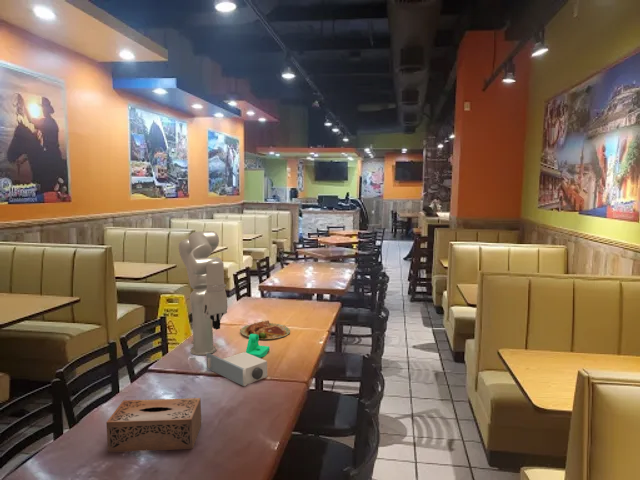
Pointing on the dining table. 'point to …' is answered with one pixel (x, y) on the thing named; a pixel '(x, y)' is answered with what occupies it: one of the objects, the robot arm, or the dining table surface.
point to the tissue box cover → (154, 425)
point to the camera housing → (250, 366)
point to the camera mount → (256, 347)
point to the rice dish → (265, 330)
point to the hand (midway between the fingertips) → (216, 328)
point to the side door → (226, 369)
